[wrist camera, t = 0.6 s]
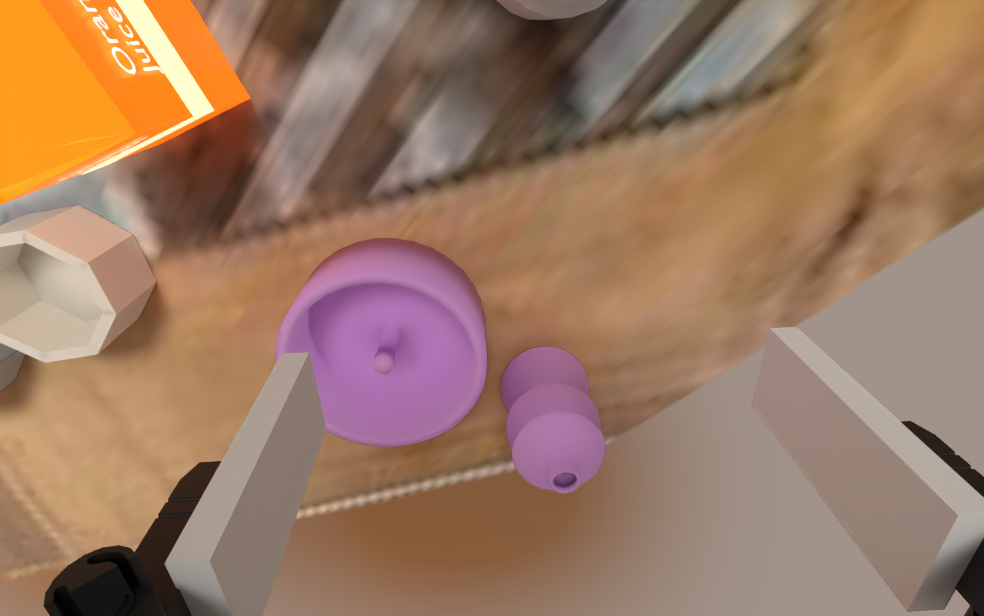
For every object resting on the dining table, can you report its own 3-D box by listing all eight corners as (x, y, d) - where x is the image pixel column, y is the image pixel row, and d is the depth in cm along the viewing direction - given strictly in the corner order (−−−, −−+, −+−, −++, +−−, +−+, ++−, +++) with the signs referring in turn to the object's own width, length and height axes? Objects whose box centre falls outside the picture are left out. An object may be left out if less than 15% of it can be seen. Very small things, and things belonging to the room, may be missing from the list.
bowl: (-10, 220, 39) (-77, 247, 34) (115, 198, 39) (65, 223, 34) (59, 330, 44) (8, 368, 39) (172, 312, 43) (135, 348, 38)
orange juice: (158, 146, 37) (-118, 251, 20) (63, 14, 34) (-386, -3, 16) (253, 97, 36) (50, 163, 19) (166, -45, 32) (-194, -134, 15)
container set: (281, 368, 46) (220, 483, 35) (325, 209, 40) (268, 283, 28) (543, 444, 52) (565, 565, 40) (617, 313, 45) (670, 412, 34)
